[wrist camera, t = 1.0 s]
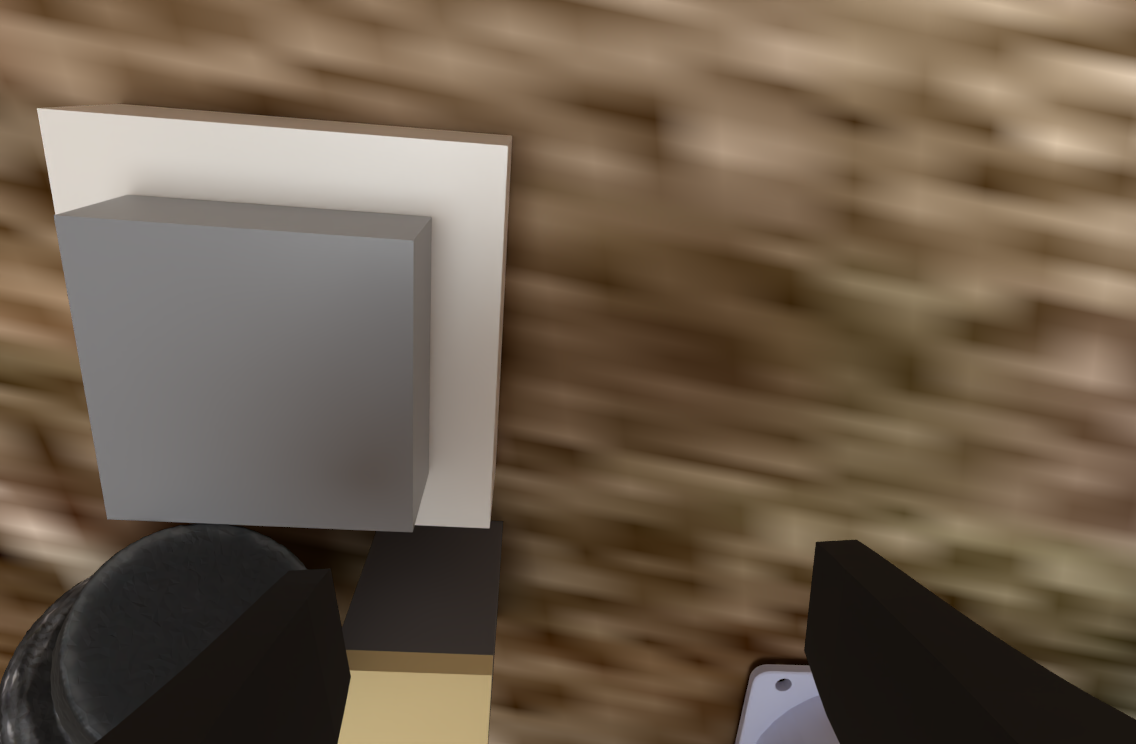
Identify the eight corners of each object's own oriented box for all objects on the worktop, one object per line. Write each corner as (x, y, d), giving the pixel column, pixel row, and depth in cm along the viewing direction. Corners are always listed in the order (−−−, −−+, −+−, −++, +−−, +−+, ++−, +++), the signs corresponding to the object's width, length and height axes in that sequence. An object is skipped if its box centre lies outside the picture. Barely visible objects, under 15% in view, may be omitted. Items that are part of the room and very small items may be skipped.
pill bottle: (271, 731, 23) (419, 603, 16) (119, 954, 19) (238, 902, 12) (108, 618, 23) (191, 435, 16) (-95, 819, 18) (-100, 682, 11)
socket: (512, 135, 17) (507, 146, 15) (495, 468, 21) (489, 528, 18) (119, 104, 17) (36, 108, 14) (166, 451, 20) (107, 511, 17)
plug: (503, 521, 21) (491, 675, 16) (497, 617, 23) (484, 791, 17) (382, 515, 21) (327, 669, 16) (382, 612, 22) (332, 788, 17)
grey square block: (431, 216, 15) (413, 240, 13) (428, 473, 17) (412, 532, 15) (127, 194, 15) (53, 214, 12) (164, 461, 17) (107, 519, 14)
